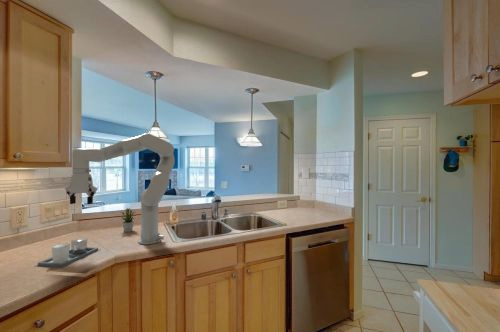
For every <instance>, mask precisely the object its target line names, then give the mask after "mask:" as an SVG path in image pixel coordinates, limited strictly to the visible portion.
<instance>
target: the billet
mask: <svg viewBox="0 0 500 332" xmlns="http://www.w3.org/2000/svg"><path fill="white" fill-rule="evenodd" d="M87 247H88V238H75V239H72V240H71V242H70V250H71V254H74V255H81V254H84V253H86V252H87Z"/></svg>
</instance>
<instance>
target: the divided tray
mask: <svg viewBox="0 0 500 332" xmlns="http://www.w3.org/2000/svg"><path fill="white" fill-rule="evenodd" d="M100 251H101V249H99V248H98V247H89V246H87V252H86V253H84V254H81V255H74V254H71V249H70V250H69V258H68V261H66V262H62V263H53V257H52V256H50V257H49V258H46V259H44V260H41V261H38V262H37V264H35V265H34V267H38V268H51V269H64V268H65V267H68V266H69V265H70V266H71V264H73V263H76V262H78V261H81V260H84V259H85V258H86V257H90V256H91V255H93V254H95V253H97V252H100Z"/></svg>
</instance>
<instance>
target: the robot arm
mask: <svg viewBox="0 0 500 332" xmlns="http://www.w3.org/2000/svg"><path fill="white" fill-rule="evenodd" d="M145 150H149V151H151V152H154V153H156V154H158V156H159V163H158V165H157V167H156V169H155V171H154V173H153V174H152V176H151V177H150V183H149V185H148V187H147V188H146V189H144V190H143V191H142V193H141V195H140V204H141V205H140V208H141V209H140V212H141V214H140V216H141V217H140V238H139V239H138V240H137V243H138V244H140V245H154V244H158V243H159V242H161V240H162V241H163V240H164V238H165V236H164V235H163V234H162V235H160V234H161V233H160V232H159V203H160V202H161V200H162V199H163V197H164V194H165V193H166V191H167V189H168V187H169V184H170V176H171V172H172V170H173V168H174V166H175V155H174V152H175V148H174V145H173V144H172V143H171V142H169V141H167V140H165V139H162V138H160V137H158V136H156V135H153V134H151V133H147V132H146V133H143V134H141V135H138V136H135V137H131V138H130V137H129V138H127V139H122V140H120V141H118V142H116V143H113V144H112V145H111V144H110V145H108V146H104V147H100V148H99V147H97V148H96V147H95V148H79V147H77V148H73V149H72V154H71V155H72V156H71V157H72V158H71V160H72V163H71V164H72V165H71V166H72V169H71V170H72V174H71V176H70V181H69V182H70V183H69V185H68V186H66V187H65V188H64V189H65V191H66V194H67V195H68V197H69V204H70V205H74V204H76V200H77V199H76V198H77V196H76V194H86V195H87V197H86V199H87V201H86V203H87V205H91V204H93V203H94V196H95V195H96V193H97V191H98V187H96V186H94V182H93V177H92V174H90V173H91V172H92V170H91V169H90V162H91V163H102V162H105V161H109V160H112V159H116V158H119V157H125V156H128V155H130V154H134V153H138V152H142V151H145Z"/></svg>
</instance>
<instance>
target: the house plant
mask: <svg viewBox="0 0 500 332" xmlns="http://www.w3.org/2000/svg"><path fill="white" fill-rule="evenodd" d="M117 210H119V209H117ZM120 212H121V214H122V215H119V217H118V219H120V218H121V219H122V229H123V232H125V233H127V232H132V231H133V228H134V222H135V221H134V219H135V216H136V214H135V211H133V209H132V208H131V207H129V208H128V207H126V209H125V213H124V211H123V210H122V209H120ZM134 214H135V215H134Z"/></svg>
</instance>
